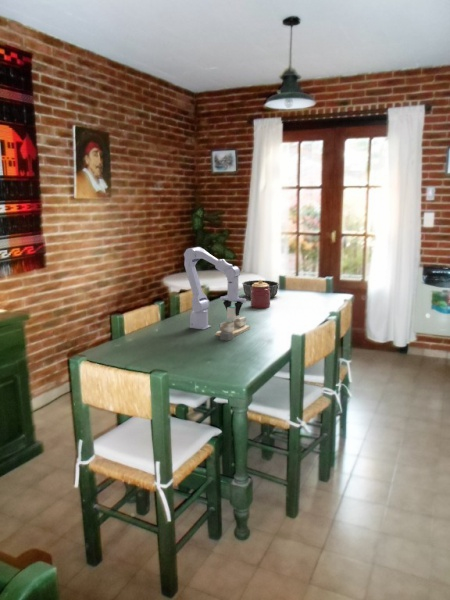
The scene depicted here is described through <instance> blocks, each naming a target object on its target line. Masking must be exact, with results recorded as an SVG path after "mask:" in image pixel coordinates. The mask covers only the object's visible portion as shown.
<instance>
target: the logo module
mask: <svg viewBox="0 0 450 600" xmlns="http://www.w3.org/2000/svg"><path fill="white" fill-rule="evenodd" d="M239 316H240V314H239V315H238V316H236V308H235V305H231V306H230V307H227V310H226V319H227V320H232V319H233V320H235V319H237V318H239Z"/></svg>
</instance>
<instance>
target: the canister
mask: <svg viewBox="0 0 450 600" xmlns="http://www.w3.org/2000/svg"><path fill="white" fill-rule="evenodd" d="M258 280H259V281H258V282H257V283H254V284H253V285H252V288H251V298H250V307H251V308H254V309H268V308H270V307H271V298H270V288H269V287H268V286H269V285H268V284H267V283H263V282H262V279H258Z"/></svg>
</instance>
